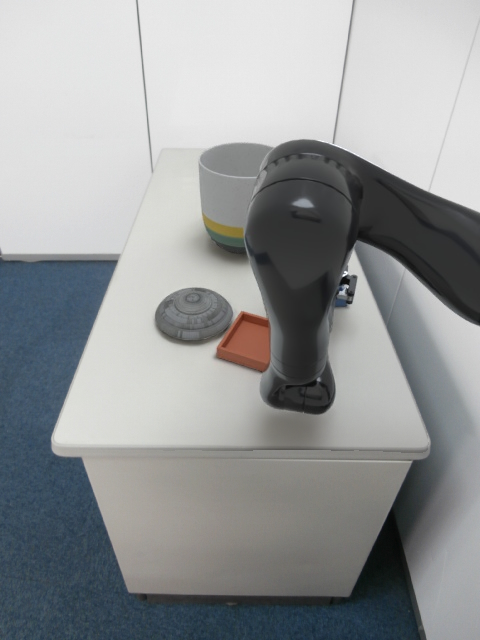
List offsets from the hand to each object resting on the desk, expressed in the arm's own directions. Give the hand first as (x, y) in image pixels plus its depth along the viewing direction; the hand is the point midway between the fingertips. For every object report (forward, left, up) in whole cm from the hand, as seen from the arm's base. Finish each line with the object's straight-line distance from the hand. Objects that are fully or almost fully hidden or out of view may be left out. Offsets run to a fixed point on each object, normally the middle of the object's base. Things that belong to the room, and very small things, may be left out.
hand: (320, 261), depth 88 cm
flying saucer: (+20, +15, -10) cm, 27 cm away
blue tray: (+1, -4, -9) cm, 10 cm away
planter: (+22, -14, -10) cm, 27 cm away
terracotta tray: (+6, +17, -9) cm, 21 cm away
